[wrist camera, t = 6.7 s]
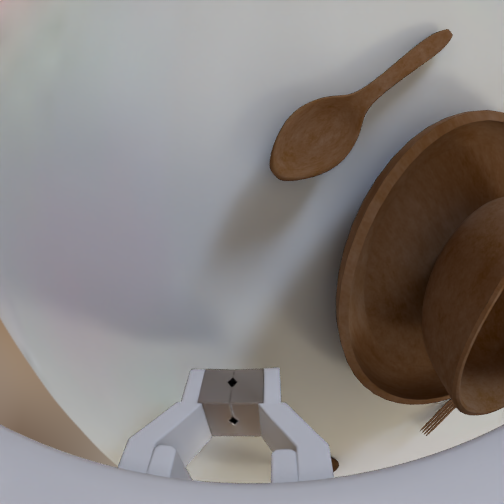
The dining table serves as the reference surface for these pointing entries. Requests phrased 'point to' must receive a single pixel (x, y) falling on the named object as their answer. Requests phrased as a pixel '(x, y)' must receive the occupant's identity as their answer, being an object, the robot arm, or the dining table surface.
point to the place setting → (416, 248)
